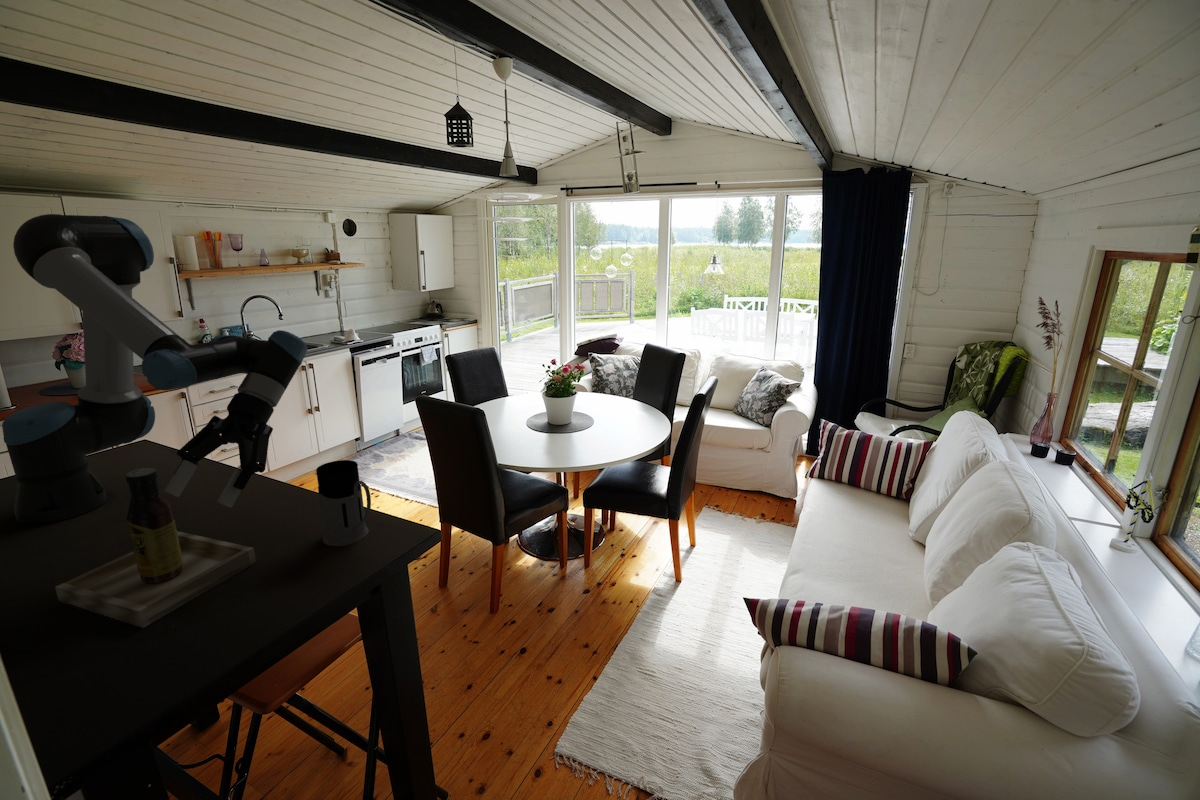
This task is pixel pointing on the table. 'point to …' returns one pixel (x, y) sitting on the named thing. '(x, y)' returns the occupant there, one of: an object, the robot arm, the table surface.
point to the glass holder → (342, 503)
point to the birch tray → (143, 603)
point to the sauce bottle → (152, 529)
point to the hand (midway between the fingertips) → (197, 499)
